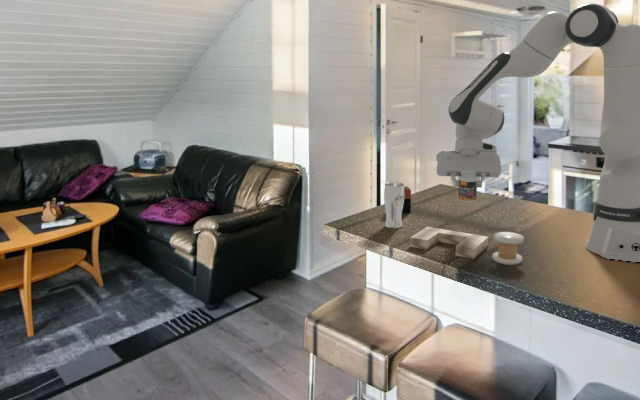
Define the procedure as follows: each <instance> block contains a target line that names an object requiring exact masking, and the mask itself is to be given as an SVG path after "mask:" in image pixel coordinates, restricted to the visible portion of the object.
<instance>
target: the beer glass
mask: <svg viewBox="0 0 640 400" xmlns="http://www.w3.org/2000/svg"><path fill="white" fill-rule="evenodd" d="M404 186H405V184H404V183H403V182H398V181H397V182H395V181H394V182H386V183H385V184H384V190H383V191H384V192H383V201H384V202H383V203H384V208H385V222H384V223H385V224H384V227H385V228H386V229H396V230H397V229H401V228H403V221H402V217H403V216H402V215H403V213H402V209H403V205H404Z"/></svg>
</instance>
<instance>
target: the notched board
mask: <svg viewBox="0 0 640 400" xmlns="http://www.w3.org/2000/svg"><path fill="white" fill-rule="evenodd" d="M409 241H410V242H409V243H410V244H409V247H410V248H415V249H420V250H424V251H427V250H429V249H430V248H431V247H433V246H434V245H436V244H437V243H444V244H450V245H455V256H456V257H463V258H466V259H467V258H468V259H471V260H475V259H476V258H477V257H478V256H479V255H480V254H481V253H483V252H484V251H485V249H486V248H487V247H489V236H485V235H480V234H474V233H467V232H462V231H457V230H456V231H455V230H450V229H443V228H438V227H432V226H426V227H424V228H423V229H421V230H419V231H418V232H417V233H415V234H414V235H412V236H410V240H409Z"/></svg>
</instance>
